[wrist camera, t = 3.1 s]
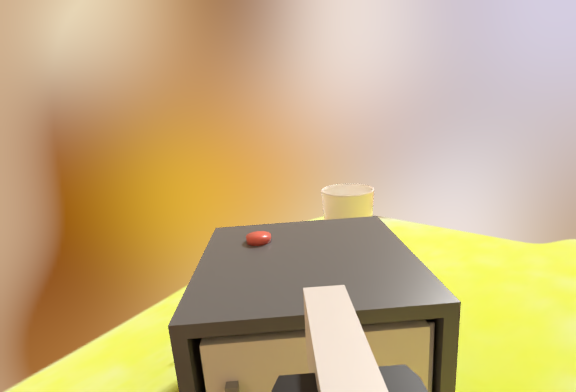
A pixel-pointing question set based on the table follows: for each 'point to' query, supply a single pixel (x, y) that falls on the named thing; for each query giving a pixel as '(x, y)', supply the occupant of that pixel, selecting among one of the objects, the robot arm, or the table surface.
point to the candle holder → (347, 201)
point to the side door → (293, 359)
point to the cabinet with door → (308, 273)
